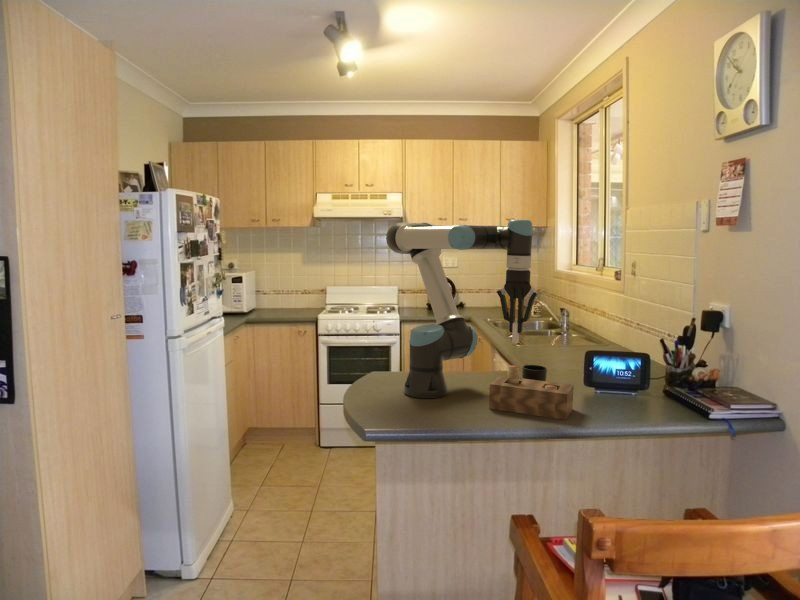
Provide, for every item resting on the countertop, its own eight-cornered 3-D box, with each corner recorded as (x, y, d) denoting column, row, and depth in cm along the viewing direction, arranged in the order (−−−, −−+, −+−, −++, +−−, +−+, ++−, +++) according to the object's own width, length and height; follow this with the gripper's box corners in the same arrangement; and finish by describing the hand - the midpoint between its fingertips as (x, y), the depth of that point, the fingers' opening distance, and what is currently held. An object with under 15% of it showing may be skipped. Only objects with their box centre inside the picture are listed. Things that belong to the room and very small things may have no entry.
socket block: (489, 408, 179) (489, 384, 178) (499, 398, 190) (500, 375, 189) (566, 420, 169) (567, 394, 168) (572, 409, 180) (573, 384, 179)
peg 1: (505, 390, 180) (506, 367, 180) (508, 387, 184) (509, 365, 183) (517, 391, 179) (517, 368, 178) (519, 388, 182) (520, 366, 181)
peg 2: (542, 410, 176) (544, 387, 175) (545, 407, 179) (546, 384, 178) (554, 412, 174) (555, 388, 173) (556, 409, 178) (557, 386, 177)
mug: (536, 387, 204) (537, 362, 203) (549, 397, 193) (550, 370, 192) (514, 388, 203) (515, 362, 202) (526, 397, 192) (527, 370, 191)
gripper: (494, 268, 176) (492, 342, 179) (536, 270, 170) (533, 346, 173) (501, 267, 183) (498, 338, 186) (541, 269, 177) (538, 342, 180)
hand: (515, 342), depth 179 cm, fingers closed
